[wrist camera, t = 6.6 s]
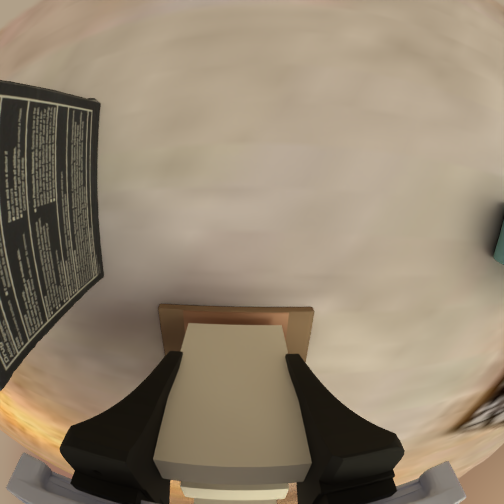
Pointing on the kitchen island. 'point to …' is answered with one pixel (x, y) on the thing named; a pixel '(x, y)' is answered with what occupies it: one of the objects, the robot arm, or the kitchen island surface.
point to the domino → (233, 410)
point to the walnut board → (237, 322)
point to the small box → (44, 213)
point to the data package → (500, 247)
